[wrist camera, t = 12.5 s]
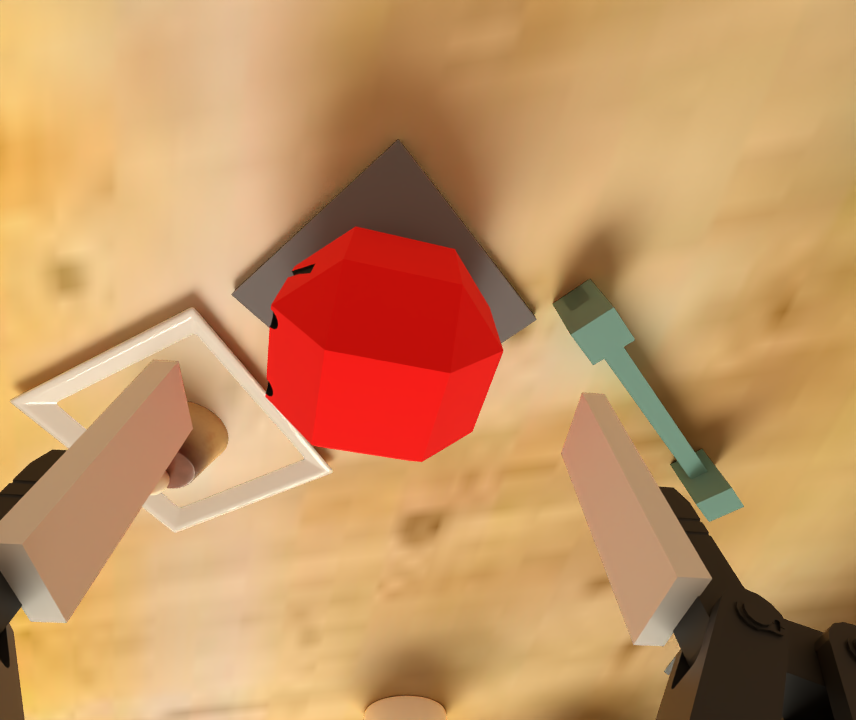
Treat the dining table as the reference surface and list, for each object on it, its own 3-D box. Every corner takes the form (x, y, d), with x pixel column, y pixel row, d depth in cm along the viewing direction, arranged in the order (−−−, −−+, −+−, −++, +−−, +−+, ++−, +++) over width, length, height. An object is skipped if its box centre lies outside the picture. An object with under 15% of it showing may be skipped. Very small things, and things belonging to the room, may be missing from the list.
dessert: (202, 295, 22) (154, 347, 18) (337, 458, 28) (324, 525, 24) (23, 388, 24) (-55, 451, 20) (181, 519, 30) (145, 588, 26)
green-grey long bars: (980, 340, 23) (1049, 373, 21) (683, 481, 29) (709, 521, 26) (933, 47, 16) (1027, 43, 14) (552, 303, 22) (570, 334, 19)
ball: (310, 199, 18) (254, 269, 12) (497, 243, 20) (538, 328, 13) (294, 361, 23) (246, 477, 16) (449, 389, 24) (462, 508, 17)
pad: (534, 315, 22) (536, 319, 22) (381, 419, 25) (380, 423, 25) (398, 139, 18) (398, 140, 17) (234, 291, 21) (231, 294, 21)
